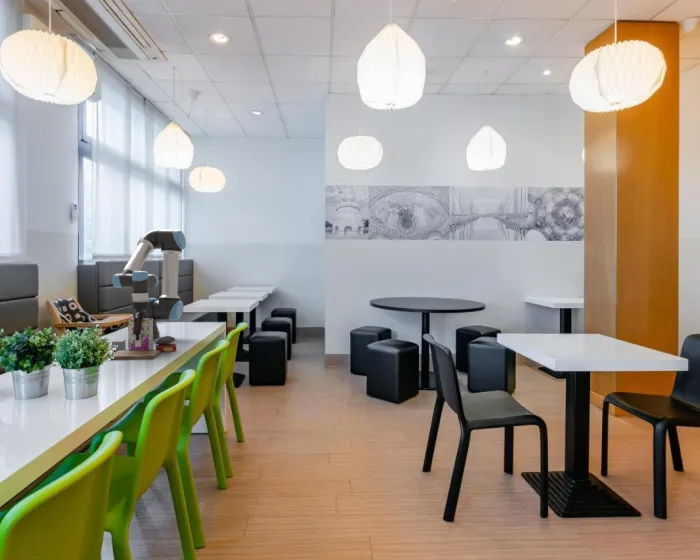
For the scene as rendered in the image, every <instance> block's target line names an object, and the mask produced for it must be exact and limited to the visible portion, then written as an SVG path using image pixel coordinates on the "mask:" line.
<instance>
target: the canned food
mask: <svg viewBox="0 0 700 560" xmlns="http://www.w3.org/2000/svg"><path fill="white" fill-rule="evenodd" d="M175 341H176V338H175V337H173V336H171V335H165V336H160V337H159V338H157V340H156V342H155V343H154V344H155V350H161V353H160V354H162V353H163V354H164V353H165V354H166V353H167V352H168V353H174V352H176V351H177V344H176V343H173V342H175ZM166 343H171V344H166Z"/></svg>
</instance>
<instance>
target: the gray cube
mask: <svg viewBox="0 0 700 560" xmlns="http://www.w3.org/2000/svg"><path fill="white" fill-rule="evenodd" d="M126 343H127V341H126V339H114V340H113V341H111V346H112V345H118V347H117V348H116V351H115V352H117V351H126V349H127V346H126V345H127V344H126Z"/></svg>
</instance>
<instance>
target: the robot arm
mask: <svg viewBox="0 0 700 560" xmlns="http://www.w3.org/2000/svg"><path fill="white" fill-rule="evenodd" d="M136 245H137V247H136V248H135V250H134V252H133V253H132V254H131V257H130V258H129V260H128V261H127V263H126V264H125V266H124V268H122V271H121V272H120V273H116V274H114V275H112V278H111V279H112V281H111V282H112V285H113V287H114V288H119V289H131V290H132V292H131V297H132V305H131V306H132V309H133V310H134V314H133V318H134V332H133V334H135V347H141V334H140V332H141V321H142V320H143V319H144V318H145V319H153V340H154V339H159V338H161V335H160V334H161V333H160V330H159V327H158V323H157V321H178V320H179V319H180V318H181V317H182V315H183V311H184V302H183V301H181V300H180V299H181V297H180V296H179V295H178V288H179V263H180V255H181V254H182V252H183V251H182V250H185V248H186V246H187V242H186V237H185V234H184V232H183V231H182V230H180V229H174V228H173V229H162V228H161V229H159V228H158V229H157V228H156V229H152V230H149V231H148V232H146V233H145V234H144V235H142V236H141V237H140V238H139V240H138V241H137V243H136ZM154 250H160V252H161V253H162V254H163V260H162V261H163V263H162V265H163V266H162V282H161V283H162V285H161V287H162V288H161V295H159V297H158V299H157V298H156V297H150V298H149V289H154V288H156V287H157V286H158V285H159V283H160V280H159V277H158V276H157V275H156V274H154V273H149V272H148V271H146V270H141V269H142V267H143V266H144V264H145V262H146V261H147V259H148V257H149V256H150V254H151V253H153V252H154Z"/></svg>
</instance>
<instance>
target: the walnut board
mask: <svg viewBox="0 0 700 560" xmlns="http://www.w3.org/2000/svg"><path fill="white" fill-rule="evenodd" d="M114 353H115V356H114V359H113V360H116V361H121V360H126V361H127V360H154V359H155V358H157V357H158V356H159V355H160V354H162V353H161V350H156V349H153V350H123V351H115V352H114ZM113 360H112V361H113Z"/></svg>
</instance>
